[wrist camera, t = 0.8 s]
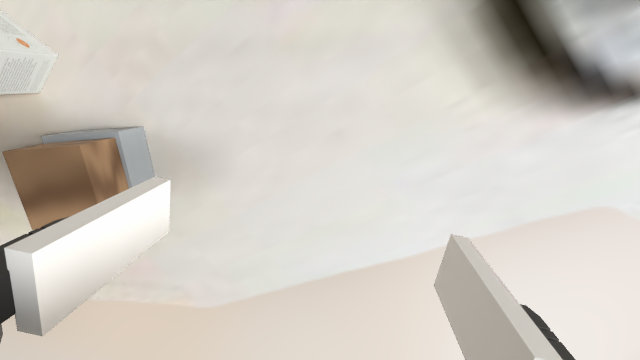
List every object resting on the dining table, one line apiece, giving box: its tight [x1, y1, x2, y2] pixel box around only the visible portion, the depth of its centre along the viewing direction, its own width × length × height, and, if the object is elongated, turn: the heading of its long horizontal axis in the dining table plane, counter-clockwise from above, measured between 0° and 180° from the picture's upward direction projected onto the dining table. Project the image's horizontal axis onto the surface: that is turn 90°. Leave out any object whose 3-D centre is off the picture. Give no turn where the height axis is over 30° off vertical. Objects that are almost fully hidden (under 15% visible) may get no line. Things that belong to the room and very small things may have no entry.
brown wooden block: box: [3, 138, 129, 230], centre depth 36 cm, size 9×9×5 cm
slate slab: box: [41, 127, 155, 189], centre depth 40 cm, size 10×10×5 cm
